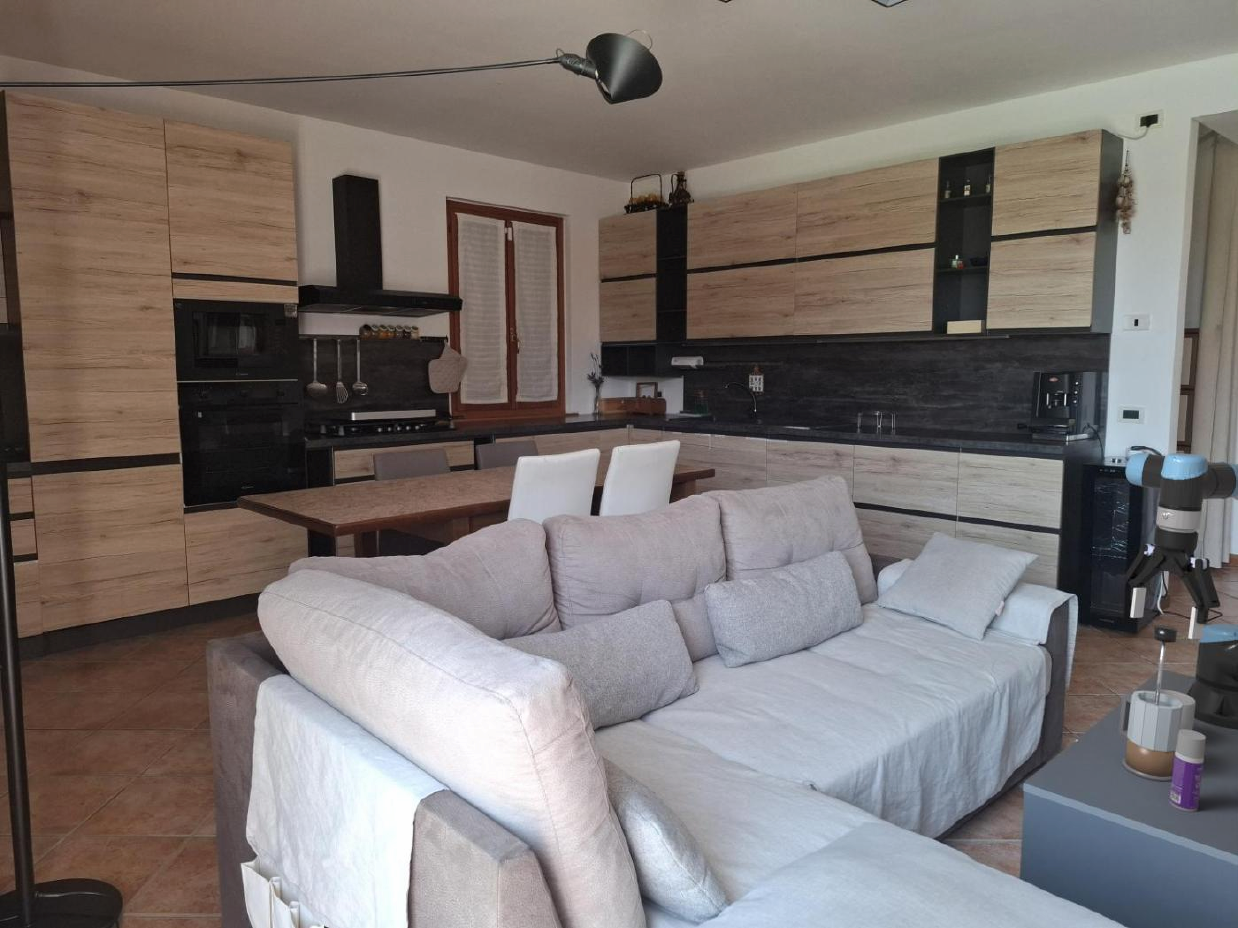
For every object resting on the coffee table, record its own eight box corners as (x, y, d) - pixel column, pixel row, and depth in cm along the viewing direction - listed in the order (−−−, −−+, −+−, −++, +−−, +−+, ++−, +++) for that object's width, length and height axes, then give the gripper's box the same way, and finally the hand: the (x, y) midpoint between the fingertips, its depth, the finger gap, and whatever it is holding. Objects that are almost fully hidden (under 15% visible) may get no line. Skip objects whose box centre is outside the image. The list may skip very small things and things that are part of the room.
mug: (1184, 754, 188) (1189, 707, 186) (1141, 740, 194) (1146, 695, 193) (1199, 738, 196) (1205, 694, 194) (1158, 725, 202) (1163, 682, 201)
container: (1198, 814, 163) (1207, 742, 161) (1169, 806, 166) (1178, 735, 163) (1196, 803, 167) (1205, 732, 165) (1168, 796, 170) (1177, 726, 167)
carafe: (1136, 750, 189) (1144, 683, 187) (1188, 778, 177) (1197, 706, 175) (1101, 755, 186) (1109, 687, 184) (1151, 784, 174) (1160, 711, 172)
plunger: (1154, 700, 182) (1163, 622, 180) (1179, 711, 176) (1189, 631, 174) (1133, 702, 180) (1142, 624, 178) (1157, 714, 175) (1167, 634, 172)
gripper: (1111, 516, 184) (1101, 610, 186) (1221, 543, 160) (1207, 649, 163) (1138, 515, 186) (1127, 607, 189) (1250, 541, 162) (1236, 646, 165)
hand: (1164, 627), depth 176 cm, fingers open, 13 cm apart
